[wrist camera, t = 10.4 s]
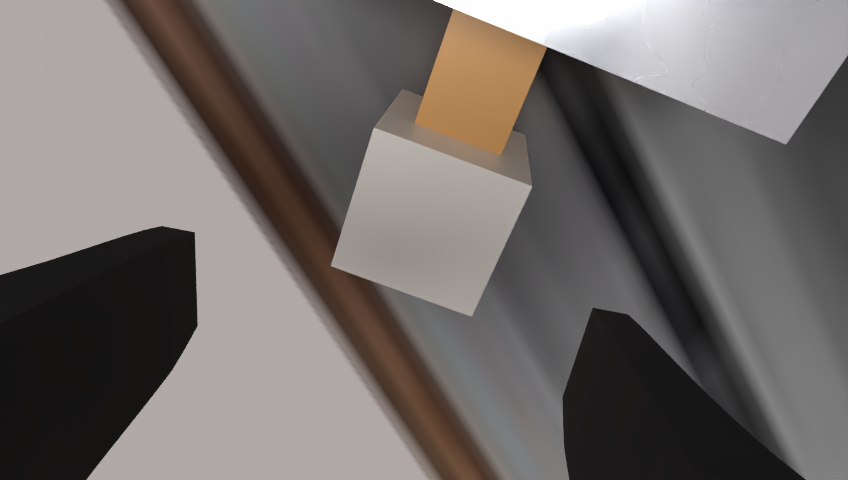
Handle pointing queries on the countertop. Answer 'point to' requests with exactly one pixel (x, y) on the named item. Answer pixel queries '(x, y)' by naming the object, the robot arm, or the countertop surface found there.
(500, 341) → the countertop surface
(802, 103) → the housing
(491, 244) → the plug
